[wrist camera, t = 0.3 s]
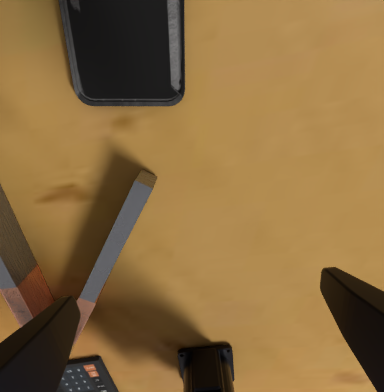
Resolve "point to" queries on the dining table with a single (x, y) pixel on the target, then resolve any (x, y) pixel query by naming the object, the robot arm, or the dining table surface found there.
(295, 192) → the dining table surface
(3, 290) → the bar
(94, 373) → the calculator
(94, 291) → the arm
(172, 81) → the phone
